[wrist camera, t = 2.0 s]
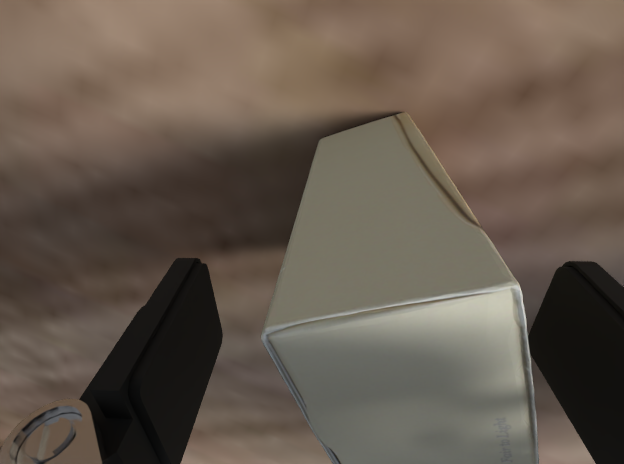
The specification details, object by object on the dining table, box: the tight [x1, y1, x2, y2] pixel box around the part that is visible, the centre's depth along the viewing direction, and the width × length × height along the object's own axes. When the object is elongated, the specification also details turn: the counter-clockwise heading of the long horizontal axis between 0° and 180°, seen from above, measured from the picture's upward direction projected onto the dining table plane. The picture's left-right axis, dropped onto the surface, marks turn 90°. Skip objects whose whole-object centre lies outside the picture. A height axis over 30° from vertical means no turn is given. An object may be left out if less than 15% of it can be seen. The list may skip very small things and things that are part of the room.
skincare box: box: [261, 112, 539, 464], centre depth 12 cm, size 6×4×12 cm
